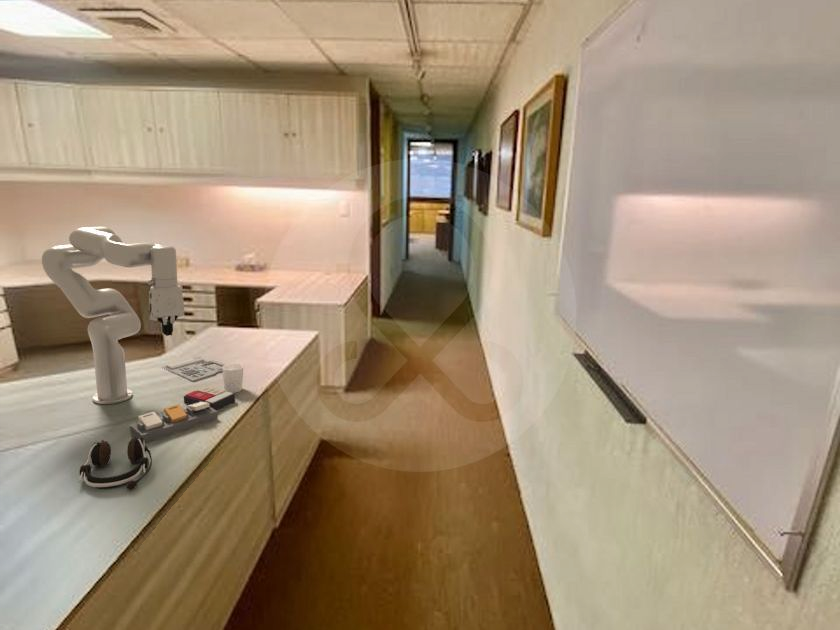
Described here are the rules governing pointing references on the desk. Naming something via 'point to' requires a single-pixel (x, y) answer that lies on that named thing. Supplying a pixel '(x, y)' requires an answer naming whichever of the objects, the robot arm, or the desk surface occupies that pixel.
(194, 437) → the desk surface
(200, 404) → the rocker
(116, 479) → the headset
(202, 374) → the office telephone
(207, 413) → the rocker switch panel
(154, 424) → the rocker
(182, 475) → the desk surface
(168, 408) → the rocker middle
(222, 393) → the calculator
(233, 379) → the white cup
